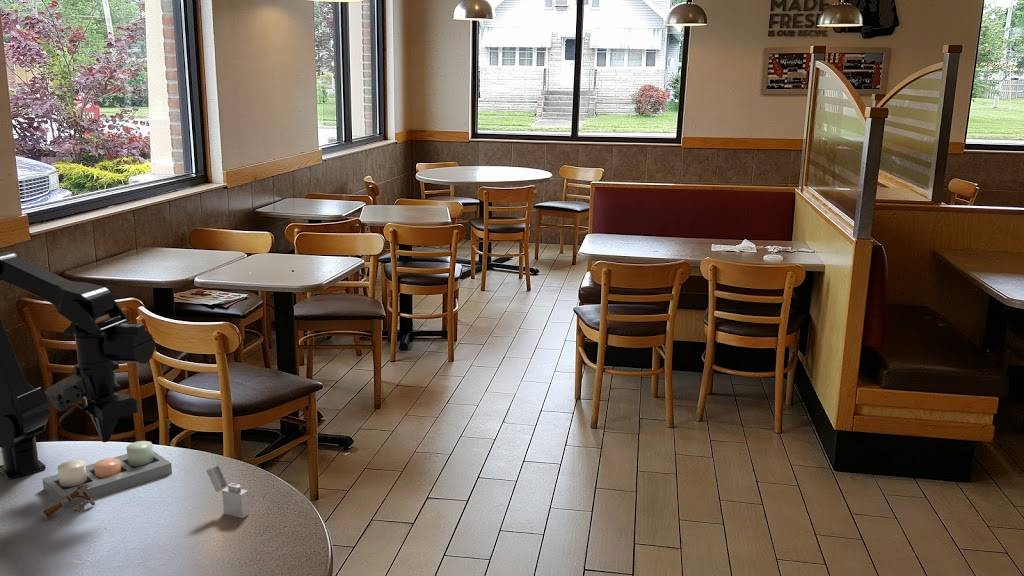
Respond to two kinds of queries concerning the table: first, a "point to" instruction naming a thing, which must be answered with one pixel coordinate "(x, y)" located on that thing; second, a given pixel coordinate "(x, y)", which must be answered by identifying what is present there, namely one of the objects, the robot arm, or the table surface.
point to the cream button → (72, 473)
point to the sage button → (140, 453)
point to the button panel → (110, 479)
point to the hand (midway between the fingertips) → (105, 441)
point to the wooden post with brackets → (66, 500)
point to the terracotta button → (107, 467)
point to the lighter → (229, 493)
